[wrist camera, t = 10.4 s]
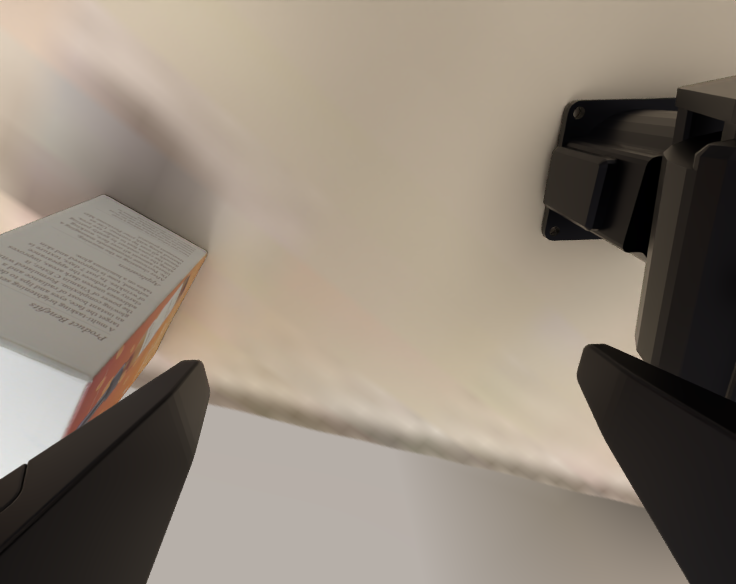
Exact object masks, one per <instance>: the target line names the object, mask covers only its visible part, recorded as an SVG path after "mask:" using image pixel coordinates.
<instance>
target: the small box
mask: <svg viewBox="0 0 736 584" xmlns="http://www.w3.org/2000/svg"><path fill="white" fill-rule="evenodd" d="M206 256H207V251H205V250H204V249H202V248H200V247H198V246H196V245H194V244H193V243H191V242H189V241H187V240H186V239H184V238H182V237H180V236H179V235H177V234H175V233H173V232H171V231H170V230H168V229H166V228H164V227H162V226H161V225H159V224H157V223H155V222H153V221H152V220H150V219H148V218H146V217H144V216H143V215H141V214H139V213H137V212H135V211H134V210H132V209H130V208H128V207H126V206H125V205H123V204H121V203H119V202H117V201H115V200H114V199H112V198H110V197H108V196H106V195H100V196H98V197H95V198H93V199H90V200H88V201H85V202H83V203H80V204H78V205H75V206H72V207H70V208H67V209H65V210H62V211H60V212H57V213H55V214H52V215H49V216H47V217H44V218H42V219H39V220H36V221H34V222H31V223H29V224H26V225H24V226H21V227H19V228H16V229H13V230H11V231H8V232H5V233H3V234H1V235H0V479H1V478H3V477H4V476H6V475H7V474H9V473H10V472H12V471H13V470H15V469H16V468H18V467H19V466H21V465H22V464H27V463H28V461H29V460H30V459H32V458H33V457H35V456H36V455H38V454H40V453H41V452H43V451H44V450H46V449H47V448H49V447H50V446H52V445H53V444H55V443H56V442H58V441H60V440H61V439H63V438H64V437H66V436H67V435H69V434H70V433H72V432H73V431H75V430H76V429H78V428H80V427H81V426H83V425H84V424H86V423H87V422H89V421H90V420H92V419H93V418H95V417H96V416H98V415H99V414H101V413H103V412H104V411H106V410H107V409H109V408H110V407H112V406H113V405H115V404H116V403H118V402H119V400H120V399H121V398H122V396H123V395H124V394H125V393H126V391H127V390H128V389H129V387H130V386H131V385H132V383H133V382H134V381H135V380H136V378H137V377H138V376H139V374H140V373H141V372H142V370H143V369H144V368H145V366H146V365H147V364H148V362H149V361H150V360H151V359H152V357H153V356H154V354H155V353H156V350H157V348H158V346H159V344H160V342H161V340H162V338H163V336H164V334H165V332H166V330H167V328H168V326H169V324H170V322H171V320H172V318H173V317H174V315H175V313H176V311H177V309H178V308H179V306H180V304H181V302H182V300H183V299H184V297H185V295H186V293H187V291H188V290H189V288H190V286H191V284H192V282H193V280H194V278H195V277H196V275H197V273H198V271H199V269H200V267H201V266H202V264H203V262H204V260H205V258H206Z"/></svg>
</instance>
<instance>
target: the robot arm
mask: <svg viewBox="0 0 736 584" xmlns="http://www.w3.org/2000/svg"><path fill="white" fill-rule="evenodd" d="M577 107H579V108H580V114H579V116H578V117H577V118H574V116H573V113H574V110H575V109H576V108H577ZM543 202H544V204H545V205H546V209H545V214H544V219H543V224H542V234H543V236H544V237H546V238H547V239H548V240H552V241H557V240H588V239H604V240H606V241H607V242H609V243H611V244H612V245H614V246H616V247H618V248H619V249H621V250H623V251H624V252H628V253H630V254H632V255H634V256H635V257H637V258H639V259H640V260H642V261H644V262H646V266H645V272H644V279H643V285H642V292H641V298H640V304H639V311H638V317H637V324H636V330H635V341H636V350H637V352H638V353H639V355H640V356H641V358H642V359H643V361H642V360H640V359H638V358H636V357H633V356H631V355H629V354H627V353H624V352H622V351H620V350H618V349H616V348H613V347H611V346H609V345H606V344H588V345H586V346H585V347H584V349H583V352H582V356H581V359H580V363H579V366H578V370H577V380H578V383H579V385H580V387H581V390H582V392H583V394H584V396H585V398H586V401H587V403H588V405H589V407H590V409H591V411H592V414H593V416H594V418H595V420H596V422H597V425H598V427H599V429H600V431H601V433H602V435H603V437H604V439H605V441H606V443H607V444H608V446H609V448H610V450H611V451H612V453H613V455H614V456H615V458H616V460H617V462H618V463H619V465H620V467H621V468H622V470H623V472H624V473H625V475H626V477H627V479H628V480H629V482H630V484H631V485H632V487H633V489H634V490H635V492H636V494H637V495H638V497H639V499H640V501H641V502H642V504H643V506H644V507H645V509H646V511H647V512H648V514H649V516H650V518H651V519H652V521H653V522H654V524H655V526H656V528H657V529H658V531H659V533H660V534H661V536H662V538H663V540H664V541H665V543H666V545H667V546H668V548H669V550H670V551H671V553H672V555H673V556H674V558H675V560H676V562H677V563H678V565H679V567H680V568H681V570H682V572H683V573H684V575H685V577H686V579H687V580H688V582H689V583H690V584H736V76H731V77H726V78H721V79H716V80H711V81H707V82H702V83H697V84H692V85H687V86H682V87H678V89H677V95H676V98H646V99H606V100H576V101H572V102H571V103H569V104H568V105H567V107H566V108H565V111H564V114H563V119H562V124H561V130H560V135H559V140H558V145H557V148H556V149H555V150H554V151H553V153H552V158H551V163H550V168H549V174H548V179H547V185H546V190H545V195H544V201H543ZM555 226H556V230H555V231H554V232H553V233H551V234H550V230H551V228H553V227H555ZM209 397H210V387H209V383H208V379H207V376H206V372H205V368H204V365H203V363H202V361H200V360H184V361H181V362H179V363H178V364H176V365H175V366H173V367H172V368H170V369H169V370H167V371H166V372H164V373H163V374H161V375H159V376H158V377H156V378H155V379H153V380H152V381H150V382H149V383H147V384H146V385H144V386H143V387H141V388H139V389H138V390H136V391H135V392H133V393H132V394H131V395H129V396H127V397H126V398H124V399H123V400H121V401H119V402H118V403H116V404H115V405H113V406H112V407H110V408H109V409H107V410H106V411H104V412H103V413H101V414H99V415H98V416H96V417H95V418H93V419H92V420H90V421H89V422H87V423H86V424H84V425H83V426H81V427H80V428H78V429H76V430H75V431H73V432H72V433H70V434H69V435H67V436H66V437H64V438H63V439H61V440H60V441H58V442H56V443H55V444H53V445H52V446H50V447H49V448H47V449H46V450H44V451H43V452H41V453H40V454H38V455H36V456H35V457H33V458H32V459H30V460H29V461H28V463H27V464H22V465H21V466H19V467H18V468H16V469H15V470H13V471H12V472H10V473H9V474H7V475H6V476H4V477H3V478H1V479H0V584H146V583H147V580H148V577H149V575H150V572H151V570H152V567H153V564H154V562H155V559H156V556H157V554H158V551H159V548H160V546H161V543H162V541H163V538H164V535H165V533H166V530H167V527H168V525H169V522H170V520H171V517H172V514H173V512H174V509H175V507H176V504H177V501H178V499H179V496H180V493H181V491H182V488H183V485H184V483H185V480H186V478H187V475H188V472H189V470H190V467H191V464H192V461H193V458H194V455H195V452H196V448H197V444H198V440H199V436H200V433H201V429H202V425H203V421H204V417H205V413H206V409H207V405H208V401H209Z"/></svg>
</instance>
